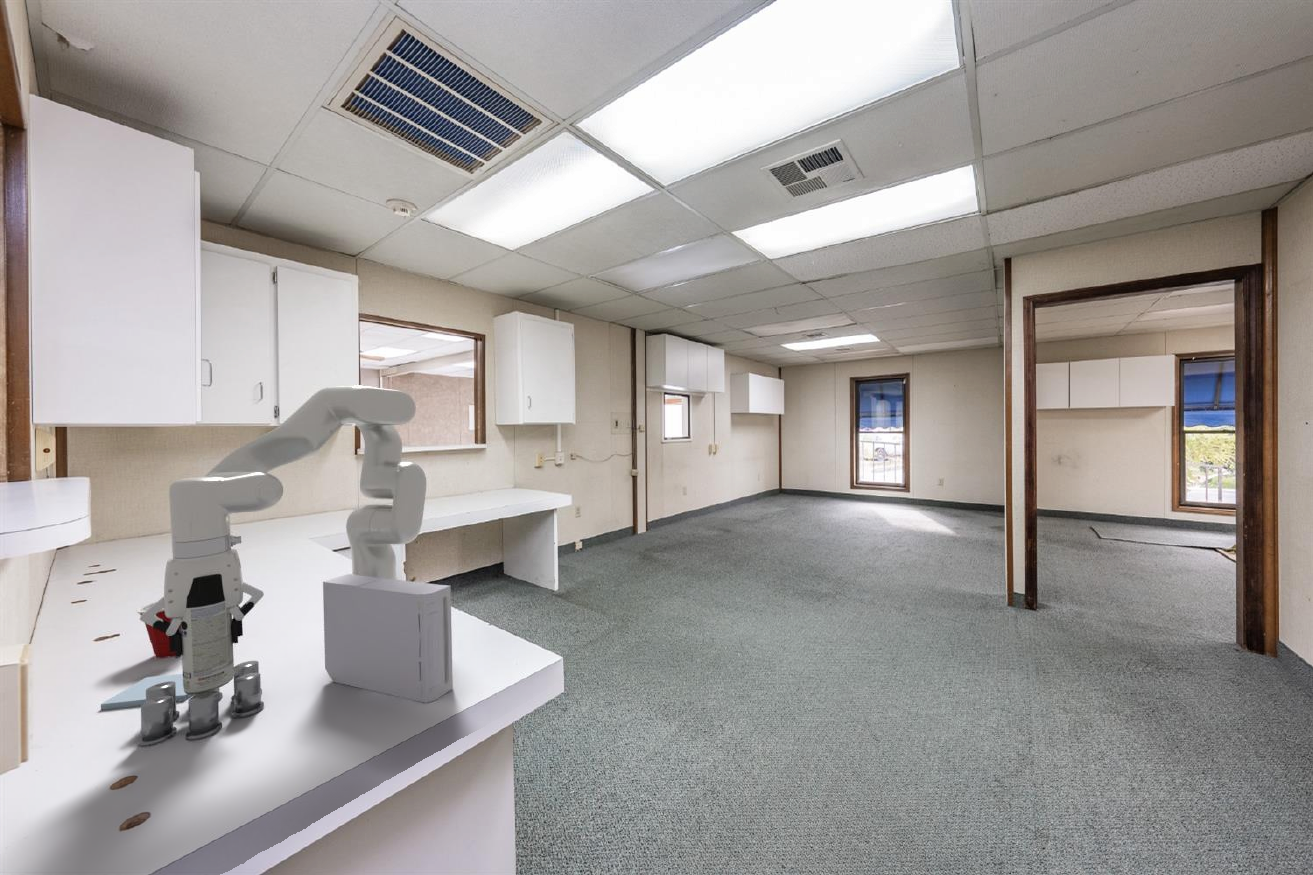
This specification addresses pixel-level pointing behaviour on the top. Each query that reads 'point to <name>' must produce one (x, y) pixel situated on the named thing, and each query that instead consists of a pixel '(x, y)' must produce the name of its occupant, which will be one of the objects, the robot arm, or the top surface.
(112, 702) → the pad
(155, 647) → the plastic cup
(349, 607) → the game console
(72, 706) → the top surface
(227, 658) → the spray can
